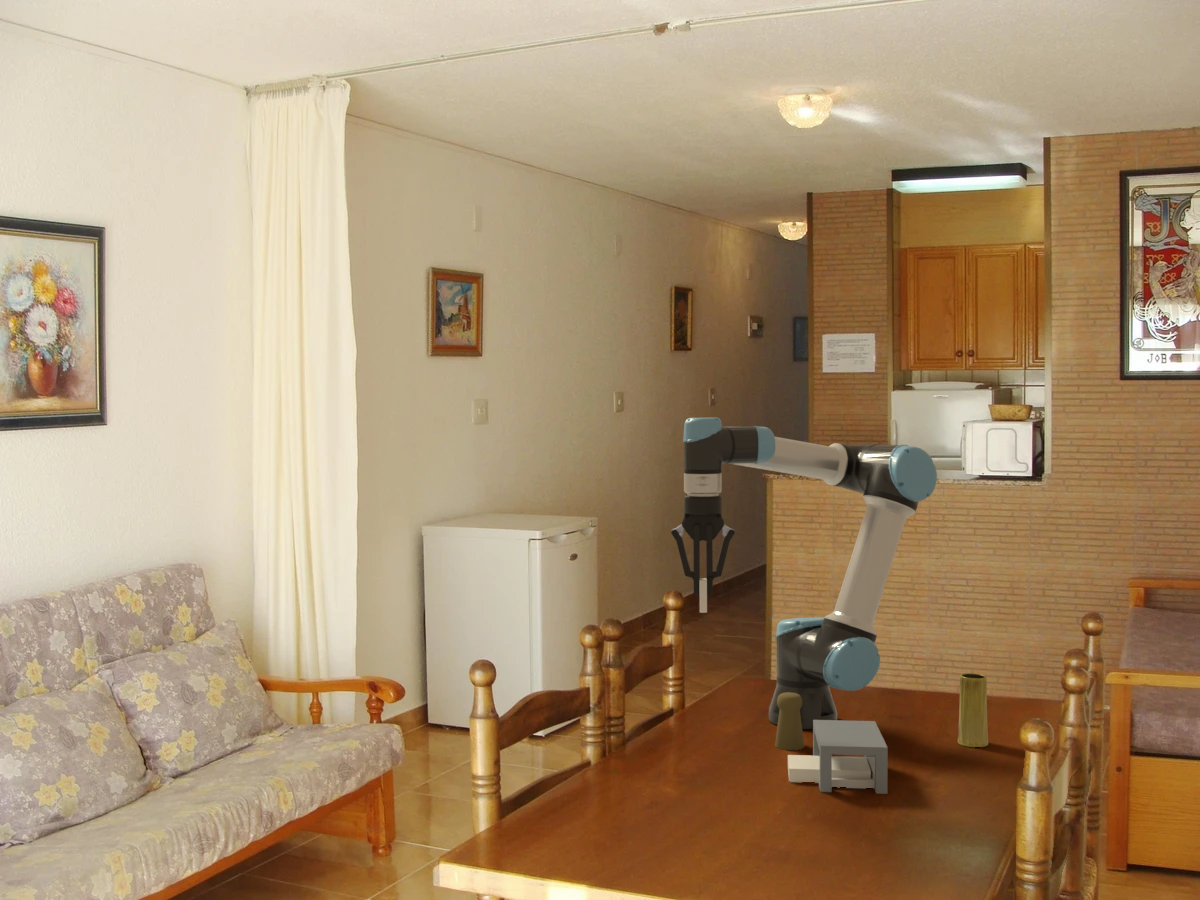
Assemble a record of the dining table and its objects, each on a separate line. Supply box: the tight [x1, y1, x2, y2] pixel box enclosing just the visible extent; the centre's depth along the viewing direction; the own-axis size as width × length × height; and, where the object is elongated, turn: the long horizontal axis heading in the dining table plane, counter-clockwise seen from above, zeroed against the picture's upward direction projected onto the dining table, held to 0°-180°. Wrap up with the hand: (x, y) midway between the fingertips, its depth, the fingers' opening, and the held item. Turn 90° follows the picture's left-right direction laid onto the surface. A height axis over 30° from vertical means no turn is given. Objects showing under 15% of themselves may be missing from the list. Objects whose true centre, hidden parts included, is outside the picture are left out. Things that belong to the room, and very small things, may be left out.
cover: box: [787, 754, 871, 784], centre depth 225 cm, size 9×15×3 cm, turn 83°
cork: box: [774, 692, 805, 751], centre depth 245 cm, size 6×6×11 cm
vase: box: [957, 672, 989, 748], centre depth 246 cm, size 6×6×14 cm
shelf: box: [812, 719, 889, 795], centre depth 224 cm, size 18×12×8 cm, turn 174°
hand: (703, 611), depth 238 cm, fingers closed
